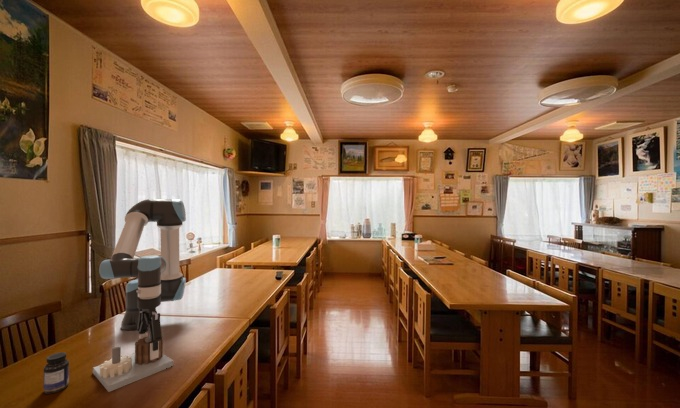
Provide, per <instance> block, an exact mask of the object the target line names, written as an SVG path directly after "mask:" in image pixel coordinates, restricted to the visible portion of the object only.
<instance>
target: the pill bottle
mask: <svg viewBox="0 0 680 408" xmlns="http://www.w3.org/2000/svg"><path fill="white" fill-rule="evenodd" d="M46 363H47V364H45V365H44V367H43V393H44V394H47V395H50V394H56V393H59V392H61V391H63V390H64V389H66V388H67V387H68V386H69V384H70V361H69V359H67V352H63V351H62V352H57V353H53V354H51V355H48V356H47V357H46Z"/></svg>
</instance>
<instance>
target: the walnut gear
mask: <svg viewBox="0 0 680 408" xmlns="http://www.w3.org/2000/svg"><path fill="white" fill-rule="evenodd" d="M145 338H147V337H144V338H143V339H138V340H137V341H135V342H134V353H135V363H136V364H137V363H138V365H141V364H144V363H145V364H148V363H150V362H152V363H153V362H155V361H156V360H159V359H161V357H162V356H163V354H164V338H163V336H162V340H160V341H159V357H158V358H156V359H153V360H150V343H145Z"/></svg>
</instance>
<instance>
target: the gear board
mask: <svg viewBox="0 0 680 408" xmlns="http://www.w3.org/2000/svg"><path fill="white" fill-rule="evenodd" d="M150 341H151V337H150V336H148V337H147V338H145V343H149V342H150ZM121 348H122V347H121V346H115V347H112V349H111V358H110V359H109V360H107V359H106V360H105V361H103V363H101V364H99V365H97V366H93V367H92V374H93V376H95V378H96V379H97V380H98V381H99V383H101V385H102V387H104V389H106V391H107V392H108V393H110V392H112V391H114V390H115V391H116V390H117V389H120V388H122V387H125V386H127V385H129V384H132V383H134V382H137V381H140V380H141V379H144V378H147V377H149V376H153V375H154V374H156V373H159V372H162V371H164V370H167V369H169V368H172V367H174V360H173V359H172V358H171V357H168V356H167V355H166V354H165V353H163V356H162V357H161V359H159V360H156V361H155V362H153V363H152V362H150V363H148V364H145V363H144V364H141V365H138V363H137V364H136V363H135V352H134V353H132V354H129V355H124V356H122V355H121V354H122V353H121ZM171 366H172V367H171ZM166 368H167V369H166Z"/></svg>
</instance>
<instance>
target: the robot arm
mask: <svg viewBox="0 0 680 408" xmlns="http://www.w3.org/2000/svg"><path fill="white" fill-rule="evenodd" d="M186 214H187V213H186V208H185V203H184V202H183V200H181V199H173V198H171V199H170V198H169V199H168V198H160V199H159V198H158V199H157V198H155V199H153V198H149V199H144V200H141V201H139V202H137V203H136V204H135V205H133V206H131V208H130V209H129V210H128V211H126V214H125V216H124V222H125V223H124V226H123V228H122V230H121V233H120V234H119V238H118V241H117V243H116V245H115V247H114V250H113V253H112V255H111V258H109V259H104V260H103V261H101V262H100V264H99V268H98V271H99V272H98V273H99V276H100V278H101V279H104V280H109V279H110V280H112V279H127V278H136V279H134V280H133V279H132V280H130V281H128V283H126V286H125V311H124V312H125V313H124V315H123V318H122V320H121V324H120V328H121V329H122V330H124V331H135V330H136V331H137V332H138V334H139V339H143V338H144V337H151V341H150V342H149V343H150V360H153V359H156V358H158V357H159V341H160V340H162V337H163V336H162V329H161V328H162V327H161V326H162V325H161V313H159V312H157V307H159V306H160V305H161V304H162V303H166V302H175V301H180V300H182V299H183V297H184V294H185V288H186V281H187V278H186V277H185V276H184V274H183V273H182V272H181V271H180V227H182V226H183V223H184V222H186V221H187V219H186V218H187V217H186ZM150 222H151V223H156V226H157V227H158V228H159V230H160V232H159V233H160V255H144V256H141V257H138V258H135V256H136V252H137V248H138V246H139V242H140V240H141V237H142V235H143V231H144V228H145V226H147V225H148V223H150ZM183 276H184V277H183ZM139 339H138V340H139Z"/></svg>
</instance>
